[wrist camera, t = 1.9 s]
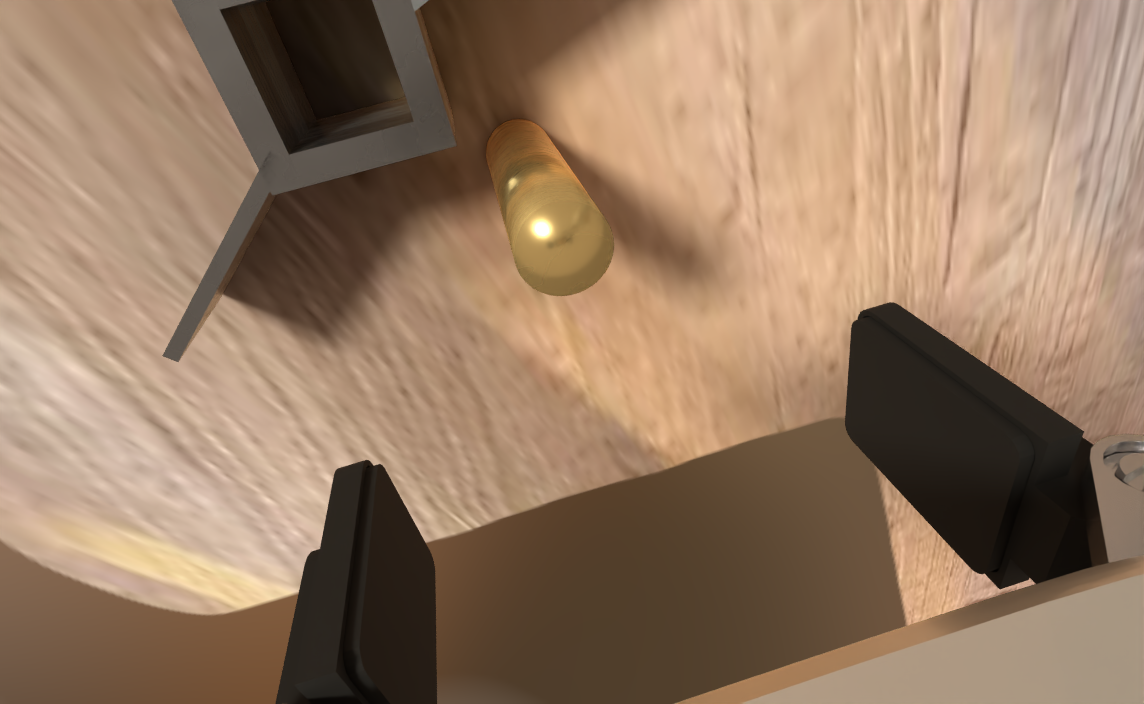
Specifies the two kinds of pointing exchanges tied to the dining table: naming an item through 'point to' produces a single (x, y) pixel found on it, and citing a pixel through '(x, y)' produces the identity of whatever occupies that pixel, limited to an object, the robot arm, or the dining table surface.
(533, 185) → the pin
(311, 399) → the dining table surface
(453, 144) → the grey winged square socket
